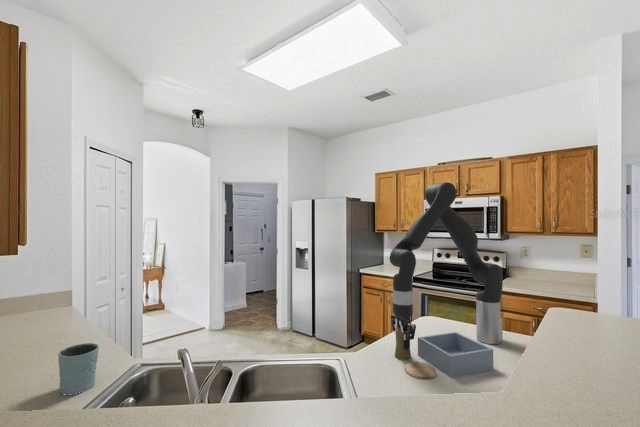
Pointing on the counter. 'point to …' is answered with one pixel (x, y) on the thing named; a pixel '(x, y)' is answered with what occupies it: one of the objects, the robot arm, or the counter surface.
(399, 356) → the pepper shaker
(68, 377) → the blue-grey textured cup
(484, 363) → the bin
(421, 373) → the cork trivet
